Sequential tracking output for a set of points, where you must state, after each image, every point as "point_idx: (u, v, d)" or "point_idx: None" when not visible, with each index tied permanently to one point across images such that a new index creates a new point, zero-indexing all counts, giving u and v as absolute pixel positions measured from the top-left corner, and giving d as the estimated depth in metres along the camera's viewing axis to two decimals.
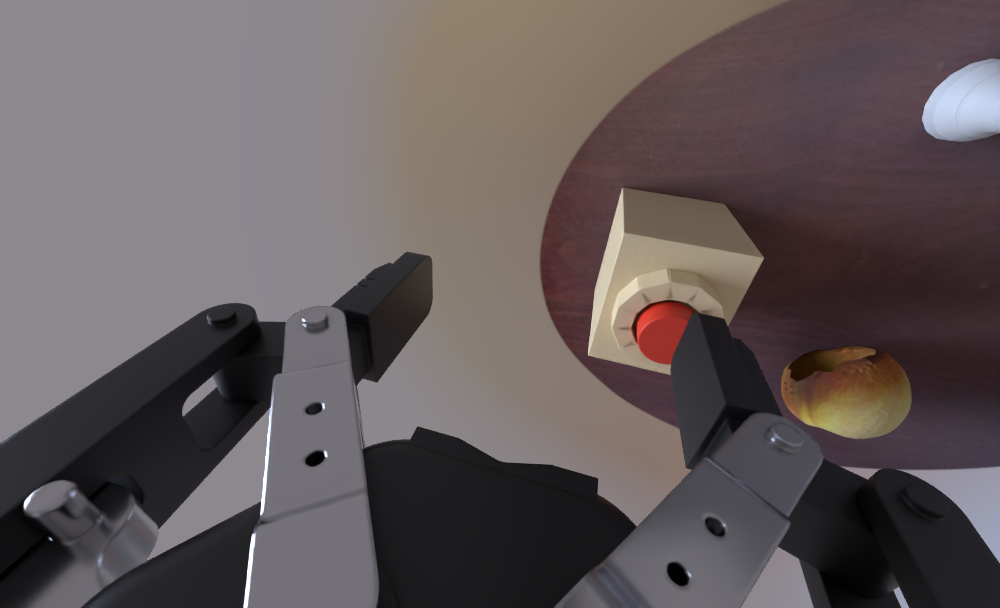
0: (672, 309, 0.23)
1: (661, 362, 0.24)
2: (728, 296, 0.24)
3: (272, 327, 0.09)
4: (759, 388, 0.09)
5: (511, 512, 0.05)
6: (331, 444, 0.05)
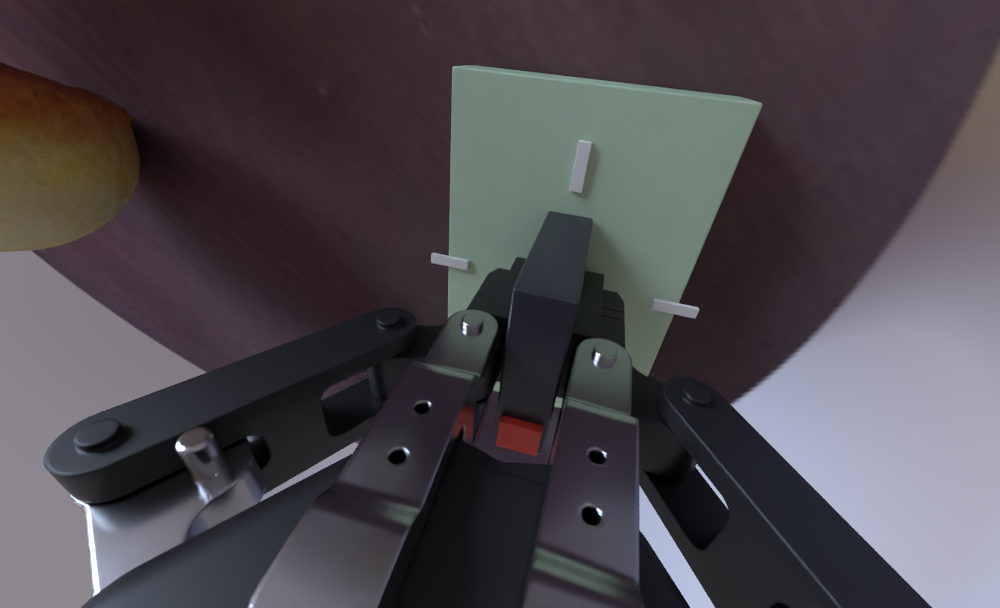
0: None
1: None
2: None
3: (423, 330, 0.09)
4: (615, 327, 0.10)
5: (511, 512, 0.05)
6: (416, 450, 0.05)
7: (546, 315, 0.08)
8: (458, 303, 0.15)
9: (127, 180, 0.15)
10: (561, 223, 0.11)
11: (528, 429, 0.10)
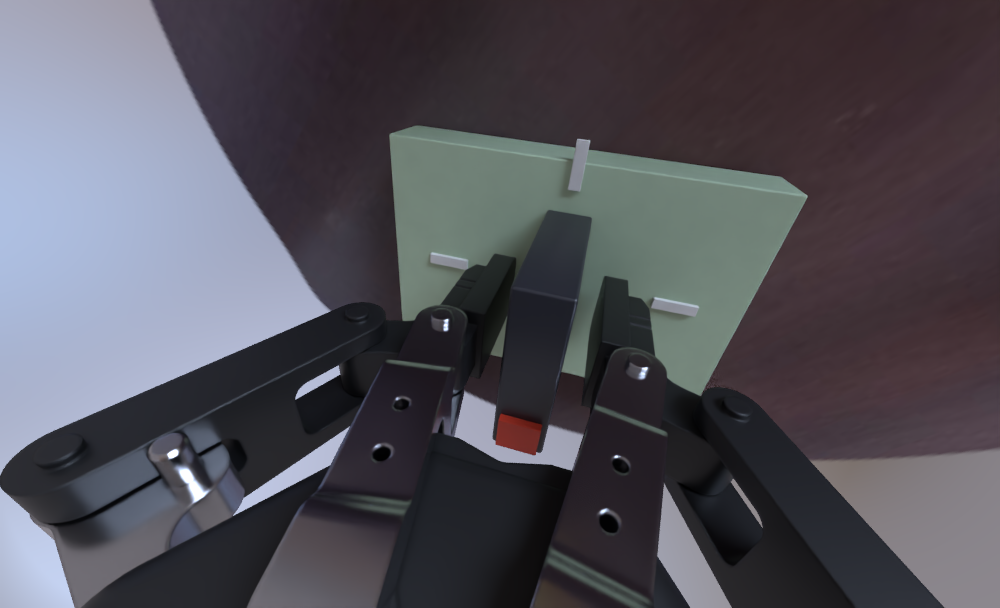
0: None
1: None
2: None
3: (394, 325, 0.09)
4: (643, 335, 0.10)
5: (511, 512, 0.05)
6: (400, 445, 0.05)
7: (544, 314, 0.08)
8: (517, 168, 0.12)
9: None
10: (560, 221, 0.11)
11: (527, 428, 0.10)
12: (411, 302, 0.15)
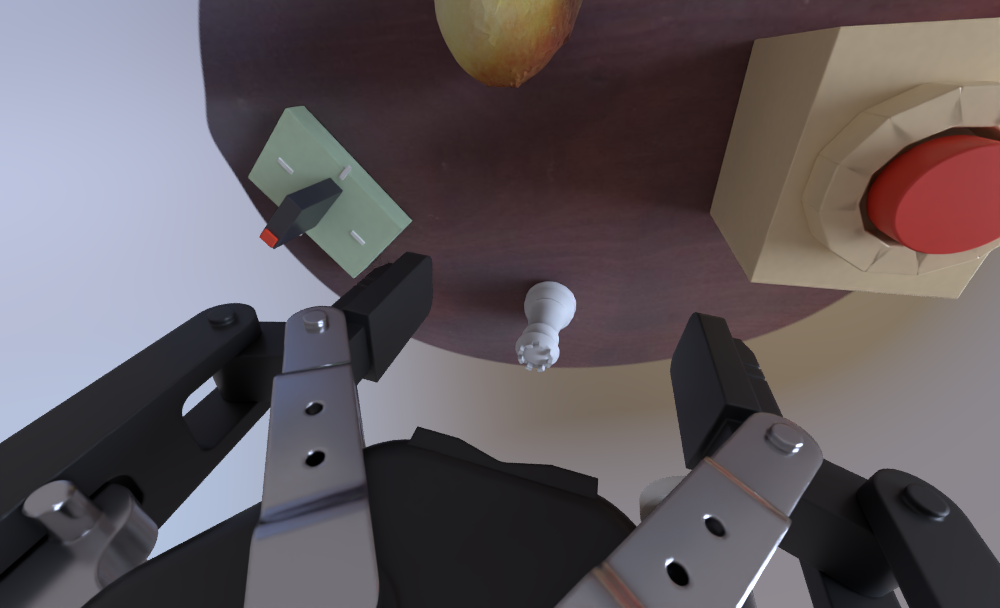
0: None
1: (998, 149, 0.11)
2: (791, 227, 0.17)
3: (272, 327, 0.09)
4: (759, 388, 0.09)
5: (511, 512, 0.05)
6: (331, 444, 0.05)
7: (292, 208, 0.27)
8: (326, 156, 0.30)
9: None
10: (328, 185, 0.30)
11: (272, 237, 0.29)
12: (259, 168, 0.32)
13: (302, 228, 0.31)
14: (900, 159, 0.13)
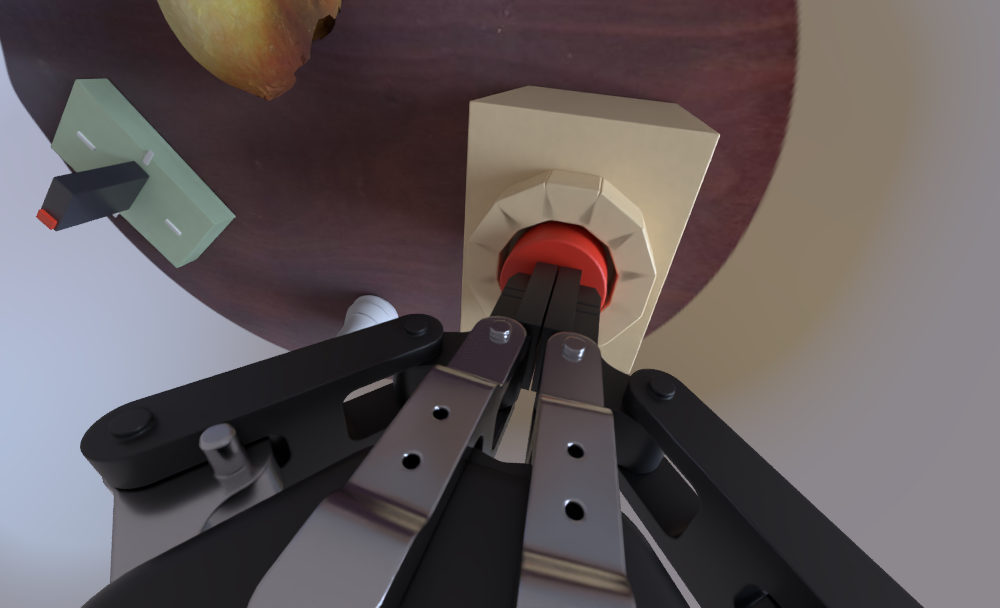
0: None
1: (558, 244, 0.12)
2: None
3: (448, 337, 0.09)
4: (590, 321, 0.10)
5: (511, 512, 0.05)
6: (430, 456, 0.05)
7: (62, 191, 0.25)
8: (126, 138, 0.28)
9: None
10: (127, 169, 0.28)
11: (49, 219, 0.26)
12: (61, 139, 0.29)
13: (98, 211, 0.28)
14: (521, 236, 0.14)
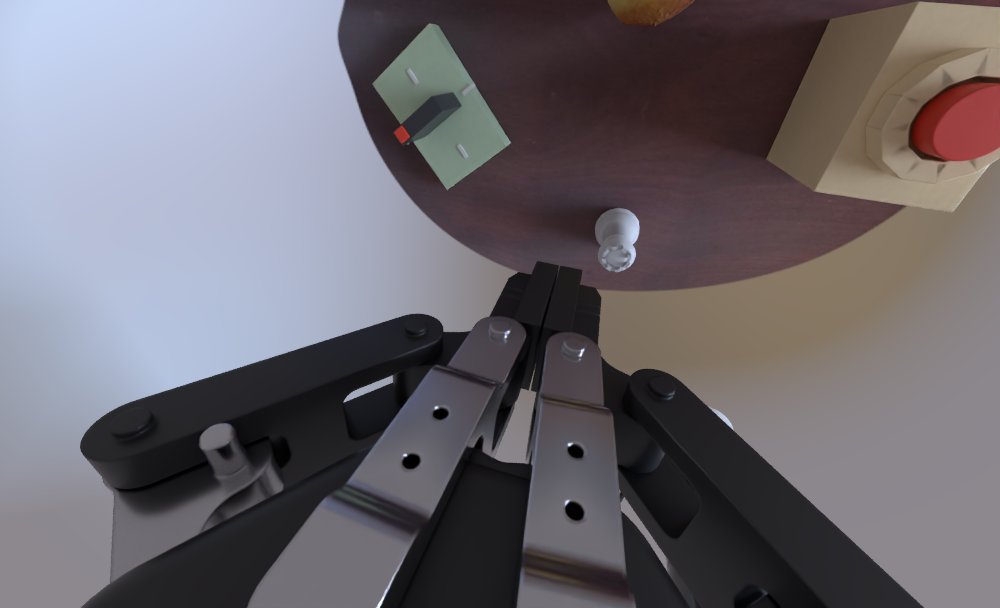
0: None
1: None
2: (853, 148, 0.24)
3: (448, 337, 0.09)
4: (590, 321, 0.10)
5: (511, 512, 0.05)
6: (431, 456, 0.05)
7: (433, 108, 0.32)
8: (454, 72, 0.35)
9: None
10: (453, 97, 0.35)
11: (406, 134, 0.33)
12: (386, 76, 0.36)
13: (423, 133, 0.36)
14: (942, 95, 0.20)
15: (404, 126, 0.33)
